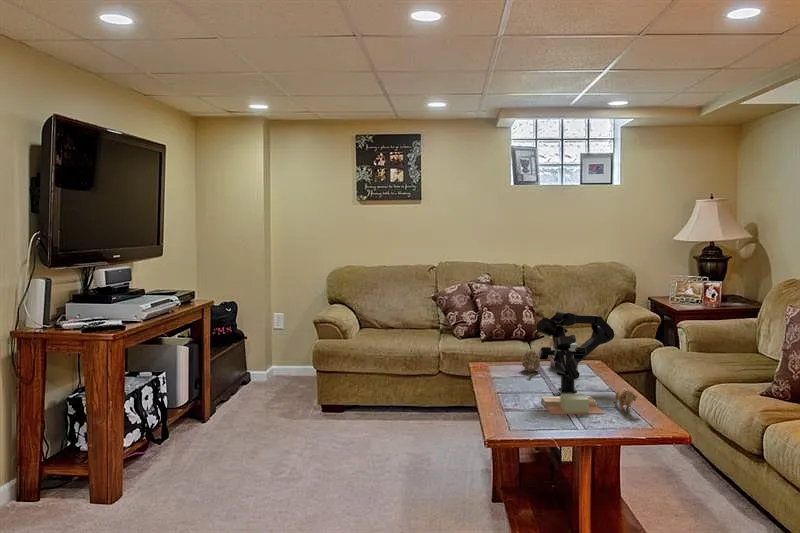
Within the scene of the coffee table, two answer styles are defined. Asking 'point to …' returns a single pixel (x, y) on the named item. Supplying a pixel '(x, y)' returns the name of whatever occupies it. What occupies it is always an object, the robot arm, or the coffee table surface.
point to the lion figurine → (625, 399)
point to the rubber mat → (560, 411)
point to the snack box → (554, 349)
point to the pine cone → (530, 361)
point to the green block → (574, 403)
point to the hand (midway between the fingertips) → (566, 370)
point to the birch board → (556, 401)
